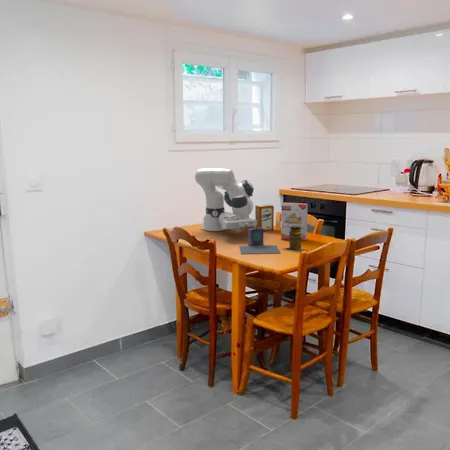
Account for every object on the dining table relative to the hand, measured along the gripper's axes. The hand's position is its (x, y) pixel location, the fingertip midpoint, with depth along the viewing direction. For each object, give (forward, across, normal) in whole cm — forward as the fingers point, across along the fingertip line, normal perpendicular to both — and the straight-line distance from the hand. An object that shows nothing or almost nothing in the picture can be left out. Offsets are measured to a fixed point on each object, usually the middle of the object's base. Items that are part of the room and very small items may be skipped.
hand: (246, 225), depth 266 cm
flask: (+11, 0, -9) cm, 14 cm away
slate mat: (+22, +4, -9) cm, 24 cm away
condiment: (+29, -12, -9) cm, 33 cm away
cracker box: (+9, -26, -9) cm, 29 cm away
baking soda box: (-23, -26, -9) cm, 36 cm away
